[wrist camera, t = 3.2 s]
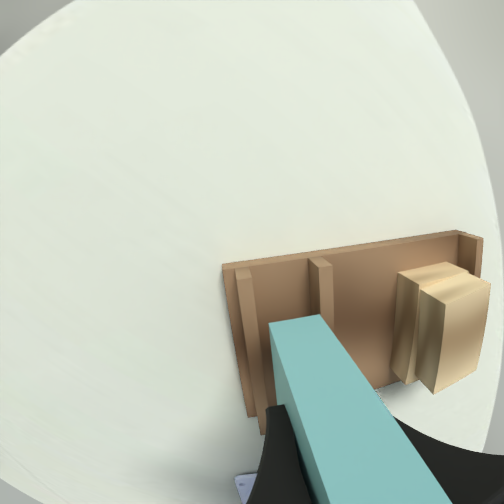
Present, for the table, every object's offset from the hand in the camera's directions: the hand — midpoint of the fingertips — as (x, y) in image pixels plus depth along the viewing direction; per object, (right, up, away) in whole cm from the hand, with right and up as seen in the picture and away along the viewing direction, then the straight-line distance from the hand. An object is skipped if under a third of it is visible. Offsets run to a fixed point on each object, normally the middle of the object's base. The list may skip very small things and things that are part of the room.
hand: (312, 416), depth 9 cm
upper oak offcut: (+8, +2, +3) cm, 9 cm away
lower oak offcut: (+7, +2, +5) cm, 9 cm away
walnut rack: (+4, +2, +6) cm, 8 cm away
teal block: (0, +1, +2) cm, 2 cm away
